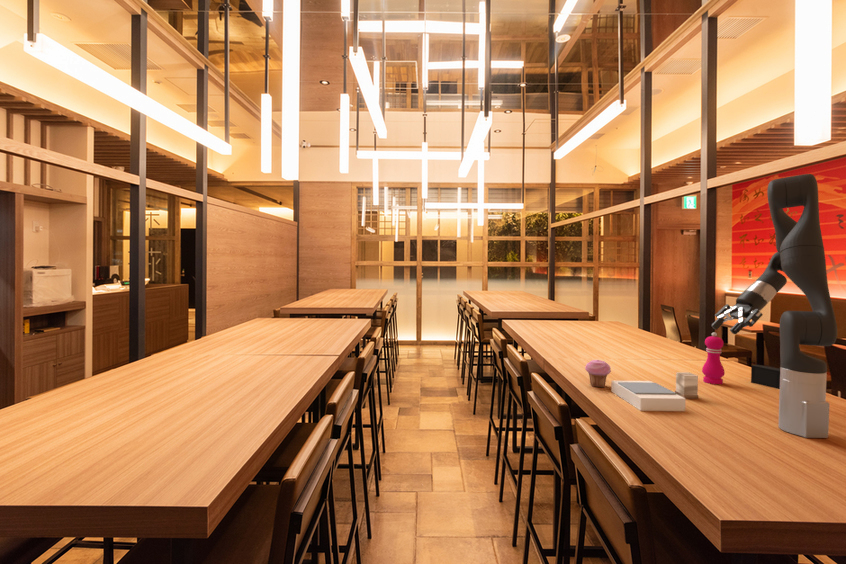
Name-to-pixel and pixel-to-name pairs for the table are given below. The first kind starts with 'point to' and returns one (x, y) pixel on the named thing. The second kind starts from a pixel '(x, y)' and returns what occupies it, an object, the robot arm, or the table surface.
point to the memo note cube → (687, 385)
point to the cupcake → (598, 372)
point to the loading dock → (648, 396)
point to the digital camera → (765, 376)
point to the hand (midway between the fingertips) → (722, 330)
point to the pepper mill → (713, 360)
